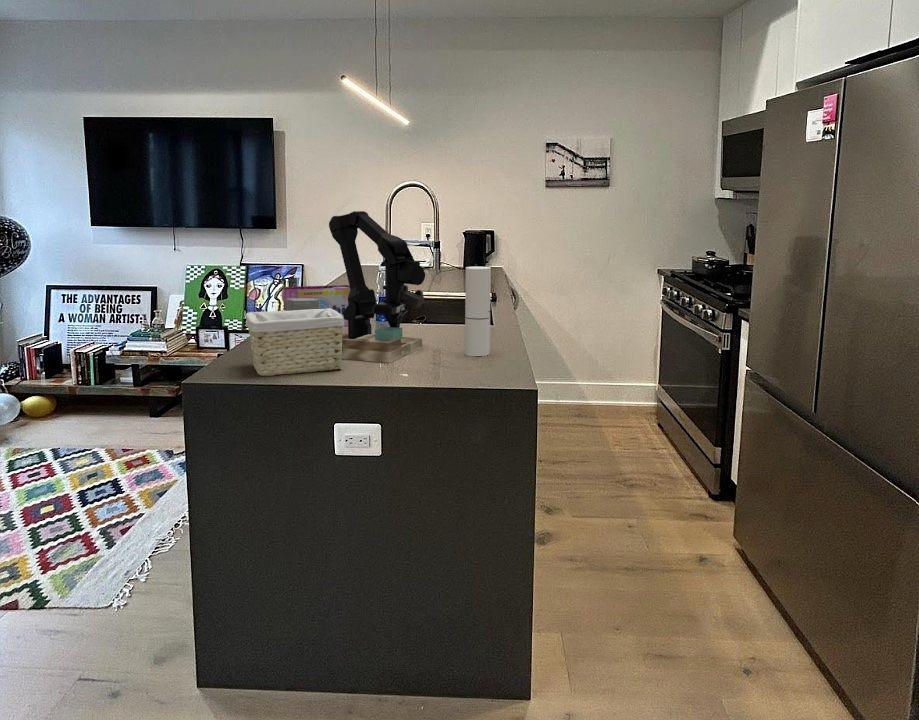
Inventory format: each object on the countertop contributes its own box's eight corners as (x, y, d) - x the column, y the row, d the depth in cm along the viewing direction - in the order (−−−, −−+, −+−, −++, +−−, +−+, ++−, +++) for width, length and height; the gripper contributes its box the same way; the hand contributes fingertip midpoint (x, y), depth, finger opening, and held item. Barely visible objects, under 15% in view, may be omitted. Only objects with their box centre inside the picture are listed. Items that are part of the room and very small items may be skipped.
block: (375, 339, 241) (375, 329, 241) (384, 336, 247) (384, 326, 246) (393, 341, 239) (393, 331, 239) (402, 337, 245) (402, 327, 244)
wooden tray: (331, 357, 231) (331, 338, 229) (368, 343, 251) (368, 326, 249) (389, 363, 224) (388, 343, 223) (422, 348, 244) (422, 330, 243)
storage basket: (253, 378, 206) (250, 320, 203) (246, 365, 221) (244, 311, 218) (347, 371, 214) (345, 316, 211) (334, 359, 229) (332, 307, 226)
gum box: (283, 330, 274) (281, 289, 271) (280, 326, 281) (279, 286, 278) (354, 326, 281) (353, 287, 278) (349, 323, 288) (349, 284, 285)
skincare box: (293, 356, 232) (291, 300, 229) (286, 351, 239) (284, 297, 235) (322, 353, 236) (320, 299, 233) (314, 349, 242) (312, 296, 239)
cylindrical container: (492, 352, 239) (493, 267, 234) (485, 357, 232) (486, 269, 227) (469, 350, 241) (470, 266, 236) (461, 355, 235) (462, 268, 229)
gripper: (406, 287, 232) (406, 341, 236) (432, 280, 249) (432, 330, 253) (371, 285, 236) (372, 338, 239) (399, 278, 253) (399, 328, 257)
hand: (395, 333), depth 247 cm, fingers closed
